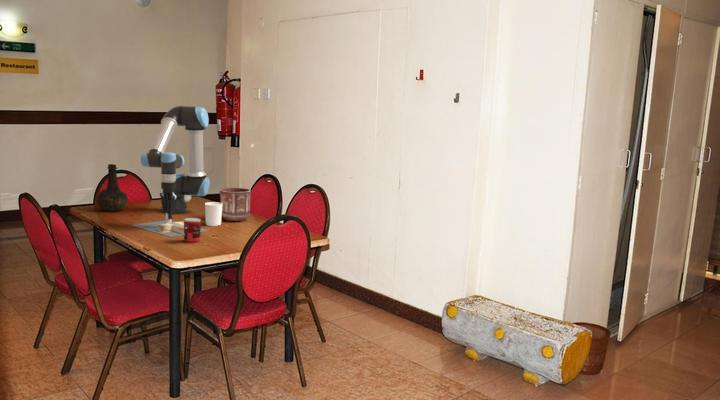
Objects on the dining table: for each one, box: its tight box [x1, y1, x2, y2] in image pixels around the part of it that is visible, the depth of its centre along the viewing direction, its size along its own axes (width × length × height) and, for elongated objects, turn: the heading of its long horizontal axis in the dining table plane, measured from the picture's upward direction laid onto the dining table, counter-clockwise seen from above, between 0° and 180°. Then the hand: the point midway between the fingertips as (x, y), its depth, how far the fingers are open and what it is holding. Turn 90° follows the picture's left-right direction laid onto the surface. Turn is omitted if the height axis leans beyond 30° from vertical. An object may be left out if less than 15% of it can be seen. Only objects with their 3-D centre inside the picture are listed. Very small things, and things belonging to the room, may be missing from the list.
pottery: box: [219, 187, 252, 223], centre depth 359 cm, size 18×18×18 cm
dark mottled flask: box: [96, 163, 129, 213], centre depth 367 cm, size 18×18×28 cm
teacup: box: [184, 195, 192, 204], centre depth 410 cm, size 14×11×8 cm
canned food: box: [183, 217, 202, 244], centre depth 303 cm, size 8×8×11 cm
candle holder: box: [204, 201, 223, 227], centre depth 343 cm, size 10×10×12 cm
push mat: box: [130, 219, 210, 238], centre depth 329 cm, size 24×36×1 cm, turn 52°
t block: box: [158, 220, 184, 233], centre depth 324 cm, size 16×15×3 cm
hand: (168, 224), depth 331 cm, fingers closed
